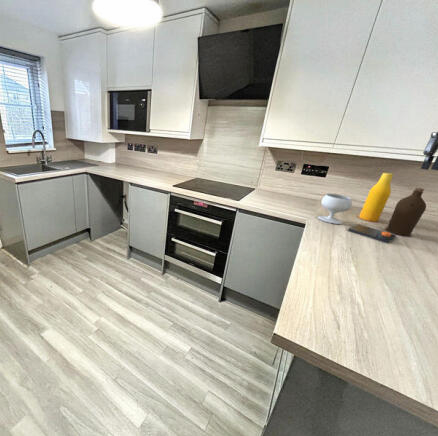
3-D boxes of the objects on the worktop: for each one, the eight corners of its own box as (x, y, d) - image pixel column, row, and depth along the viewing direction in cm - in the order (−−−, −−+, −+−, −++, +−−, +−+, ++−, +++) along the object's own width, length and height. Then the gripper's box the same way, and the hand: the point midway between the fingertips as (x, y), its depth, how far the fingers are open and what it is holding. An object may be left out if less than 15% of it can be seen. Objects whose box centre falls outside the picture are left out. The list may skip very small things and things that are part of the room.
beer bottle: (361, 215, 154) (379, 171, 143) (379, 220, 147) (400, 174, 136) (356, 218, 149) (375, 172, 138) (375, 223, 142) (397, 175, 131)
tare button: (390, 236, 117) (392, 233, 116) (388, 237, 115) (390, 234, 114) (382, 233, 119) (383, 231, 119) (380, 235, 117) (381, 232, 117)
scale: (397, 238, 122) (400, 233, 121) (389, 244, 114) (392, 238, 113) (357, 226, 135) (359, 221, 134) (347, 230, 127) (349, 225, 126)
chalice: (343, 220, 143) (352, 196, 138) (345, 227, 132) (355, 201, 127) (315, 214, 150) (323, 191, 145) (315, 220, 139) (324, 196, 134)
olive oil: (416, 238, 123) (441, 192, 114) (392, 234, 126) (414, 189, 117) (402, 230, 133) (424, 187, 123) (380, 227, 135) (400, 185, 126)
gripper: (447, 117, 104) (421, 170, 112) (483, 120, 105) (455, 171, 114) (427, 117, 111) (404, 167, 119) (461, 120, 112) (436, 169, 121)
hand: (429, 169), depth 116 cm, fingers open, 5 cm apart
